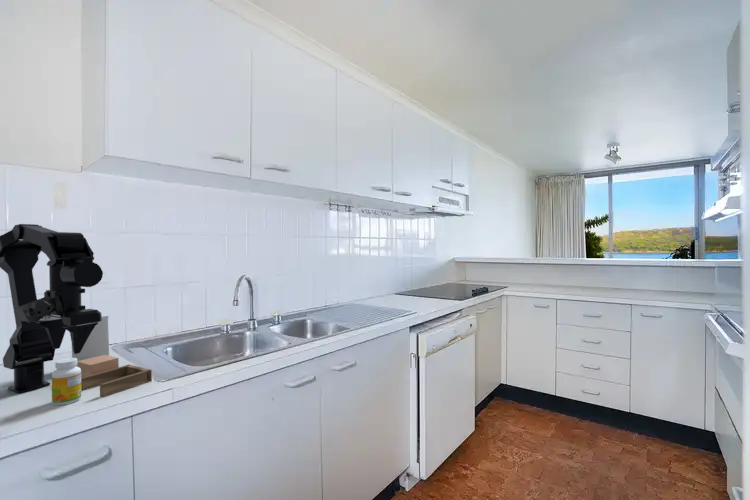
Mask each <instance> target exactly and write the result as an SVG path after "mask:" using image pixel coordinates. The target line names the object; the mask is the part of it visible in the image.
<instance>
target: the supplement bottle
mask: <svg viewBox="0 0 750 500" xmlns="http://www.w3.org/2000/svg"><path fill="white" fill-rule="evenodd" d="M76 365H77V358H72V357H68V358H67V357H66V358H62V359H58V360H56V361H55V365H54V366H55V370H54V371H53V372H52V373H51V404H52V405H54V406H65V405H70V404H73V403H76V402H78V401H79V400H81V399H82V390H81V369H80V368H79V367H76Z"/></svg>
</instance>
